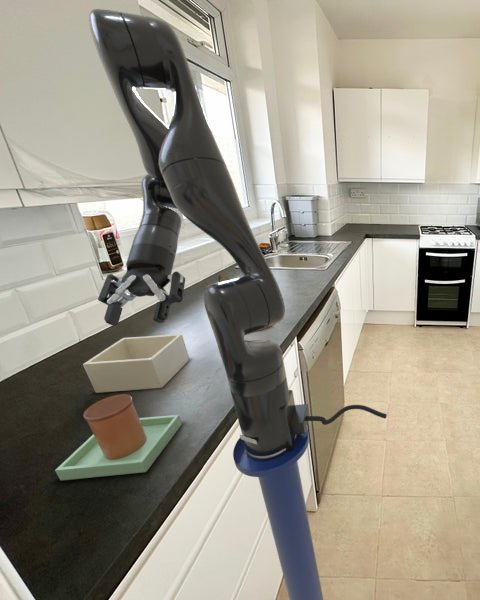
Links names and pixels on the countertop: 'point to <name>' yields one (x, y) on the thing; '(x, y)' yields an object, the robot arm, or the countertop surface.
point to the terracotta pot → (116, 426)
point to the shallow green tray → (94, 464)
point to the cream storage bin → (137, 363)
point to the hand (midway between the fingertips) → (135, 322)
